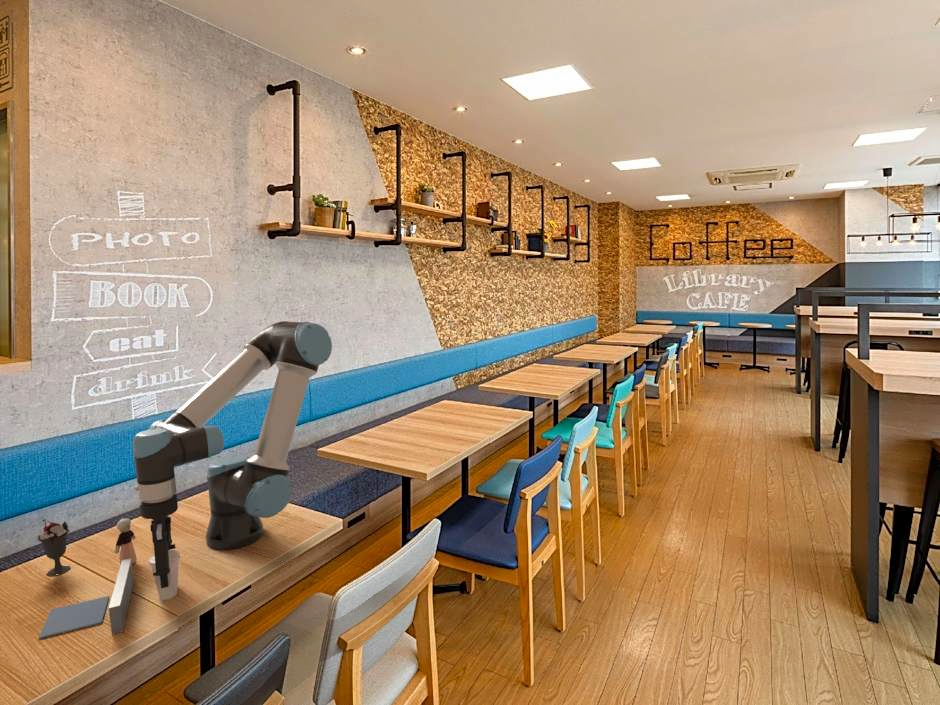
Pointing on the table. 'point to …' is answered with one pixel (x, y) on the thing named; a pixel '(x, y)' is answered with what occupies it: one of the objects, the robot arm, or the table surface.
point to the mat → (74, 617)
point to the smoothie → (173, 566)
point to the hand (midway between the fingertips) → (167, 587)
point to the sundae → (55, 544)
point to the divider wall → (121, 596)
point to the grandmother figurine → (125, 541)
